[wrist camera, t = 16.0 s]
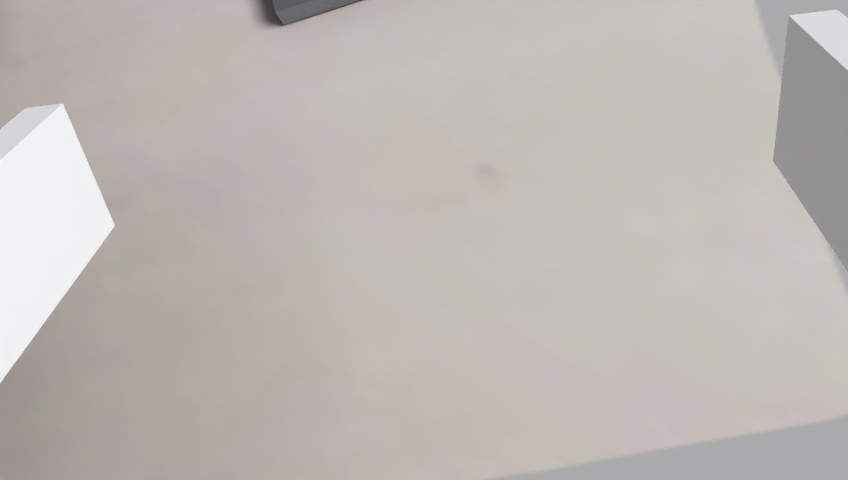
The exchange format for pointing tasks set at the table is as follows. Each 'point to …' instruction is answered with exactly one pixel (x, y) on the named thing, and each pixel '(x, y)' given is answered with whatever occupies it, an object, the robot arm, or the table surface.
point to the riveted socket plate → (304, 8)
